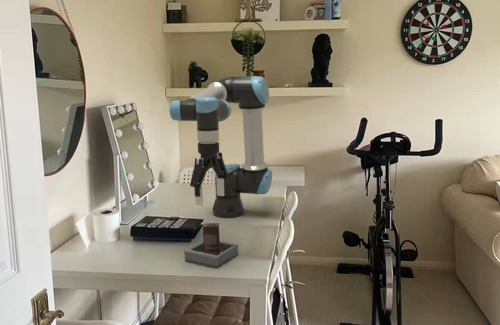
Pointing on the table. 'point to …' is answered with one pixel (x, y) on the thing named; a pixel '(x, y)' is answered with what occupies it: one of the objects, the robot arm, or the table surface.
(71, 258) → the table surface
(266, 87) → the robot arm
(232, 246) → the tray
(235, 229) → the table surface
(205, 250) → the box
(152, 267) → the table surface
